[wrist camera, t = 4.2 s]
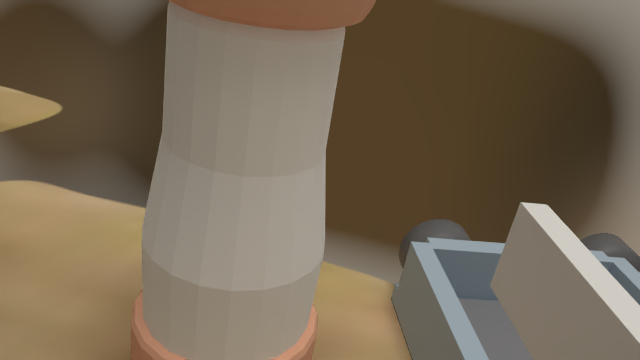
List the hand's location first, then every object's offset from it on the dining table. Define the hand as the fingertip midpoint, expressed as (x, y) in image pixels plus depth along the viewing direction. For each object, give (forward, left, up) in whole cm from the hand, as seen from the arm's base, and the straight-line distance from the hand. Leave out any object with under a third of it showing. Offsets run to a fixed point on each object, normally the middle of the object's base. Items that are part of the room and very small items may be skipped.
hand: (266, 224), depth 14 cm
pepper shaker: (-4, +4, -11) cm, 12 cm away
